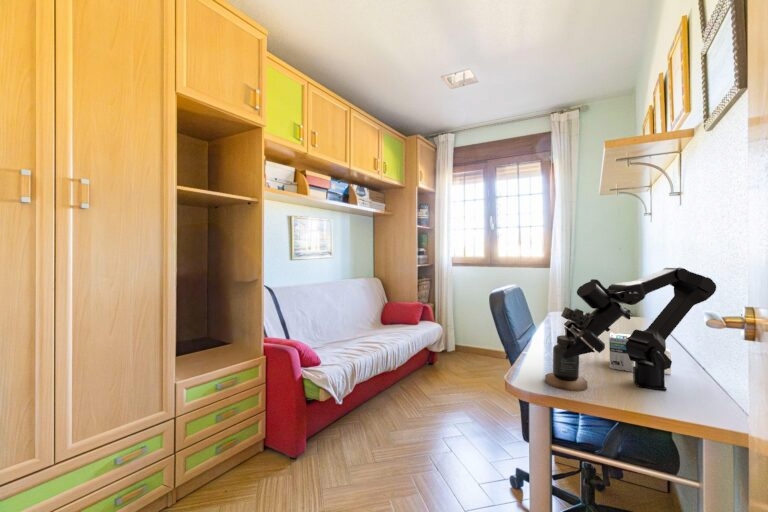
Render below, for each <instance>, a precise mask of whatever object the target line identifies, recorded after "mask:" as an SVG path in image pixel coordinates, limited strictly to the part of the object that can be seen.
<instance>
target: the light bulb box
mask: <svg viewBox="0 0 768 512" xmlns="http://www.w3.org/2000/svg"><path fill="white" fill-rule="evenodd" d="M630 336H631V334H628V333H627V334H625V333H620V332H619V333H618V332H612V331H610V333H609V337H608V341H609V342H608V343H609V344H608V345H609V346H608V348H609V369H611V370H612V369H613V370H618V371H624V370H625V372H630V371H632V372H631V373H633V366H634V365H635V361H631V360H630V359H629V356H628V353H627V350H626V346H625V344H626V342H627V341H628V339H627V338H628V337H630Z"/></svg>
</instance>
